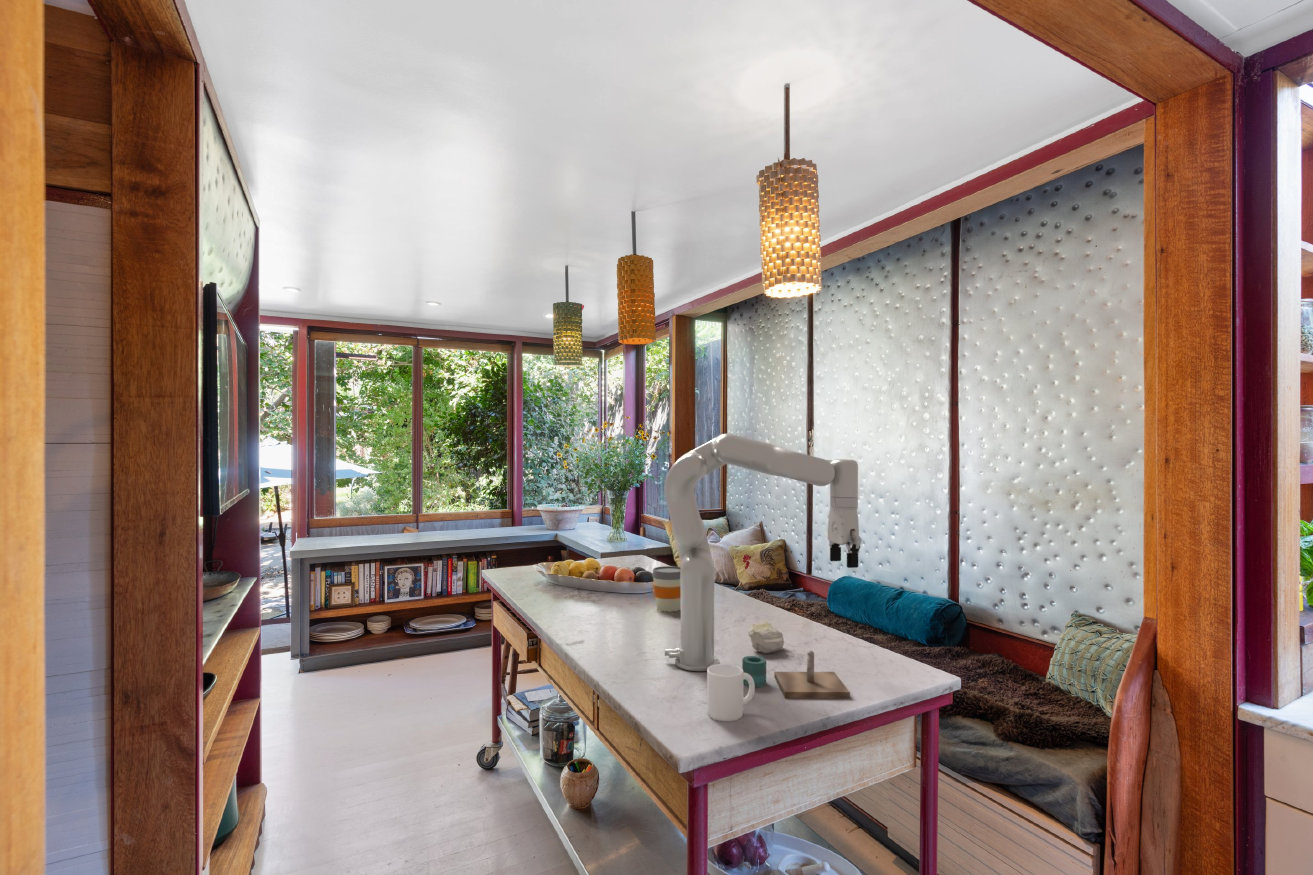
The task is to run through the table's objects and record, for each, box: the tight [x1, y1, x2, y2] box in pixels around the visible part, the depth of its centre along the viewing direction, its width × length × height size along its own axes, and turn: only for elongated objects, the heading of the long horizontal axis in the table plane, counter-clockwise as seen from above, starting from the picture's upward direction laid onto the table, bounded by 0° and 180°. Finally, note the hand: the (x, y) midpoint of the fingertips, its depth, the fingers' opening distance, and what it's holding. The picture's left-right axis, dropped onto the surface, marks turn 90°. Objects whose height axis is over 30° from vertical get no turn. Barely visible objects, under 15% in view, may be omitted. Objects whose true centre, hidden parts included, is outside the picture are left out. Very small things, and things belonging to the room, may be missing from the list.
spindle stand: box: [773, 650, 851, 699], centre depth 163 cm, size 16×14×9 cm
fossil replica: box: [747, 621, 785, 654], centre depth 192 cm, size 12×8×10 cm
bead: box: [741, 655, 767, 688], centre depth 166 cm, size 6×6×6 cm
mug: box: [706, 663, 756, 723], centre depth 147 cm, size 12×8×10 cm
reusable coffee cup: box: [651, 565, 681, 613], centre depth 241 cm, size 12×13×15 cm
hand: (843, 564), depth 179 cm, fingers open, 9 cm apart
